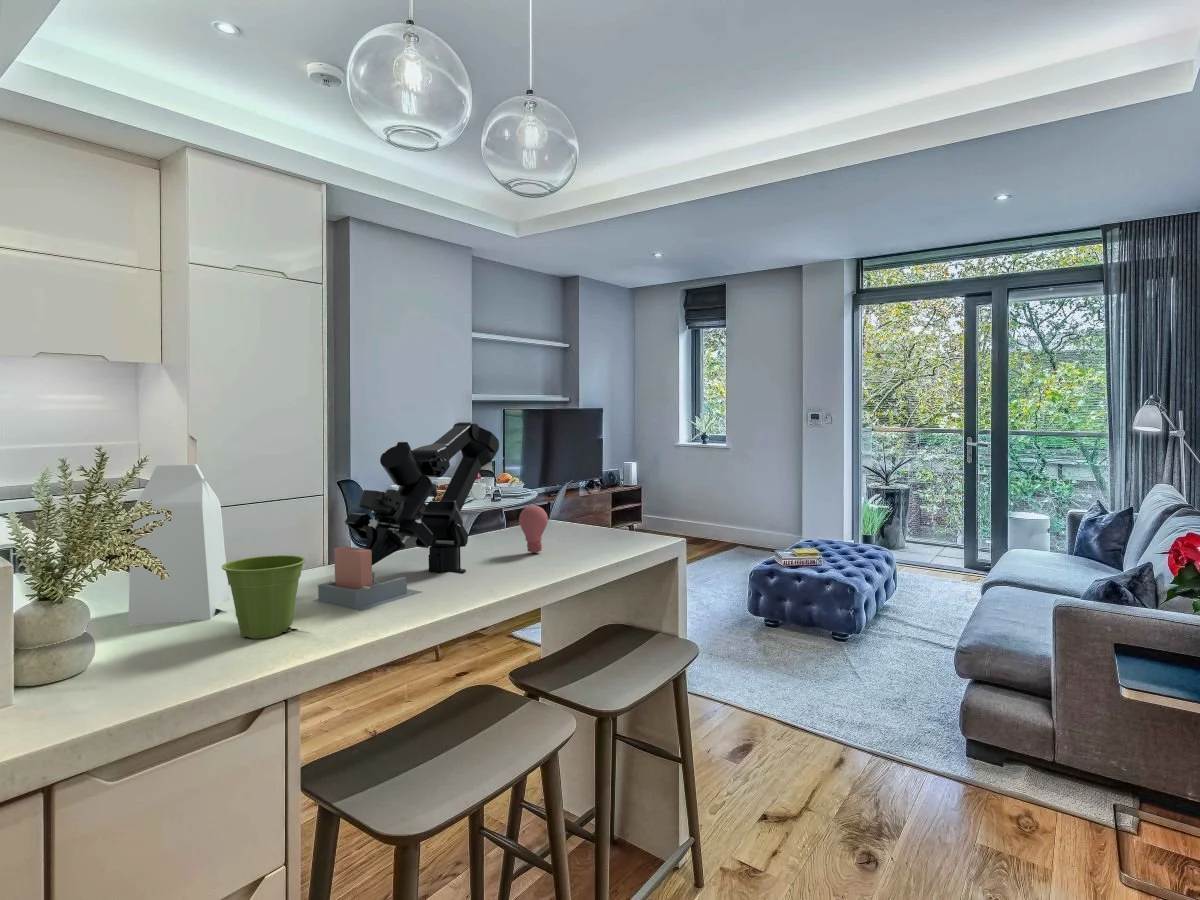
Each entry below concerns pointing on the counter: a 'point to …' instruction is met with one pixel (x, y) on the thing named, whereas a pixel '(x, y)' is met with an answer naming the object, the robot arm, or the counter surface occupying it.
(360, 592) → the dock
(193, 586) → the milk
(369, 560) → the upright terracotta block
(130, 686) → the counter surface
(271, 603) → the plant pot
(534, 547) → the light bulb
